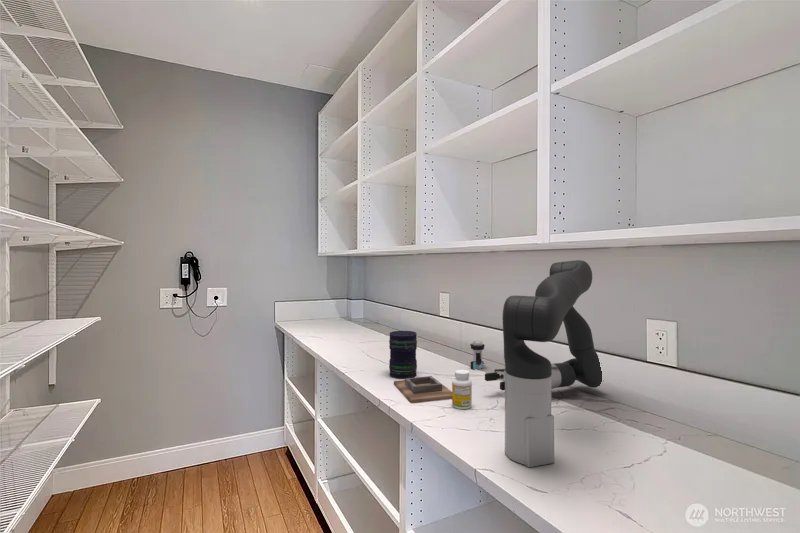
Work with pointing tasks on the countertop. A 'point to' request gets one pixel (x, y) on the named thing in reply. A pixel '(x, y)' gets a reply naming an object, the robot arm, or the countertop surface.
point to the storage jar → (403, 354)
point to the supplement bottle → (462, 390)
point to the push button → (477, 355)
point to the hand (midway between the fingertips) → (492, 381)
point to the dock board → (423, 389)
